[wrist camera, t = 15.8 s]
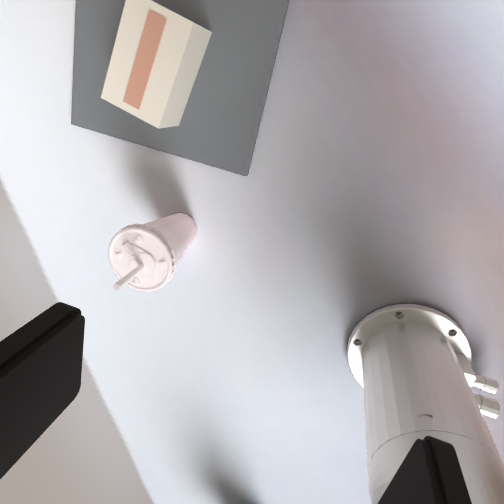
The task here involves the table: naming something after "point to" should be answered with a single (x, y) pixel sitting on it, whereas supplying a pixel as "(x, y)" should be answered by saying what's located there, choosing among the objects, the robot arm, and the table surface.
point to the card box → (154, 63)
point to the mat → (204, 88)
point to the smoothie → (150, 251)
